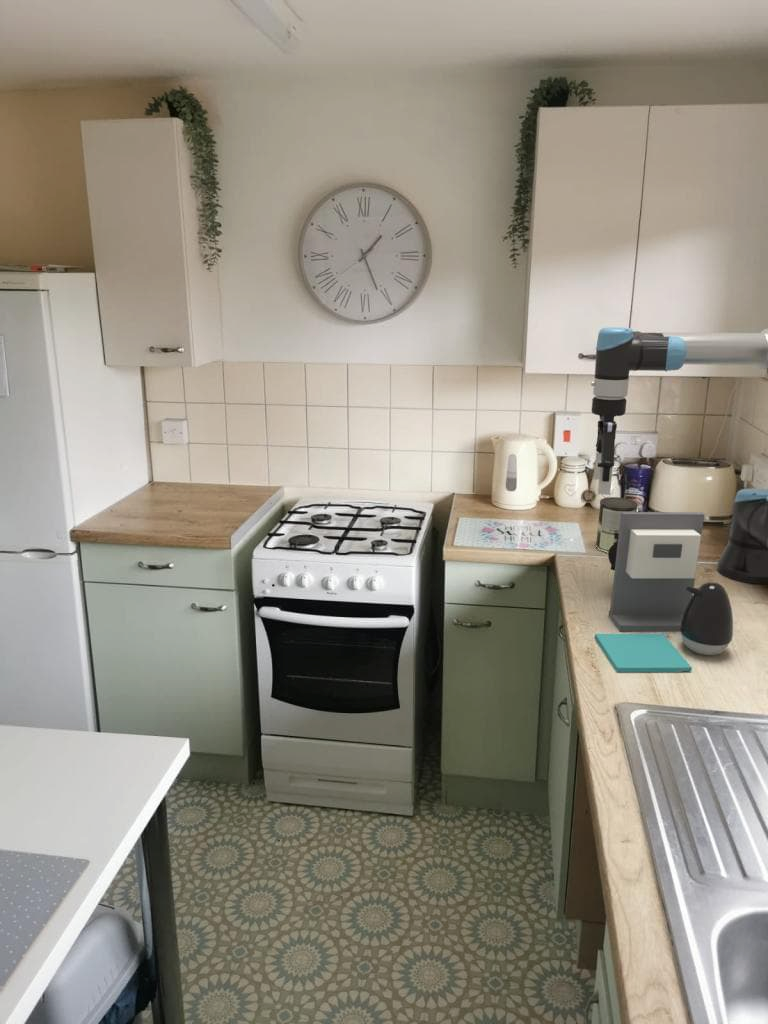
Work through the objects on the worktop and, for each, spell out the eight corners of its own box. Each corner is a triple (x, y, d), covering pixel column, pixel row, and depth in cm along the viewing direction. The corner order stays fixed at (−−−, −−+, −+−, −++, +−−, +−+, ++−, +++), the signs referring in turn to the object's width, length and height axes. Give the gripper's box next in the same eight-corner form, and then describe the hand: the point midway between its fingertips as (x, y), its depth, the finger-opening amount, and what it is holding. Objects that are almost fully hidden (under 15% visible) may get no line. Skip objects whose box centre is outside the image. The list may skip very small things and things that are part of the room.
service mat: (662, 637, 166) (663, 633, 166) (691, 672, 152) (691, 667, 152) (594, 637, 166) (595, 633, 166) (616, 672, 152) (617, 667, 151)
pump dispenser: (670, 638, 166) (679, 573, 162) (718, 639, 166) (728, 574, 162) (686, 660, 157) (696, 592, 152) (737, 662, 156) (749, 593, 152)
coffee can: (588, 544, 224) (593, 498, 219) (618, 541, 227) (623, 495, 223) (608, 556, 214) (614, 508, 210) (639, 553, 217) (645, 505, 213)
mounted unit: (684, 616, 177) (700, 511, 170) (699, 631, 170) (716, 522, 162) (608, 616, 177) (620, 511, 169) (619, 631, 169) (632, 522, 161)
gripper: (589, 388, 187) (582, 472, 193) (596, 405, 164) (588, 500, 170) (621, 389, 186) (613, 474, 192) (632, 406, 162) (623, 502, 169)
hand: (601, 486), depth 181 cm, fingers open, 13 cm apart
